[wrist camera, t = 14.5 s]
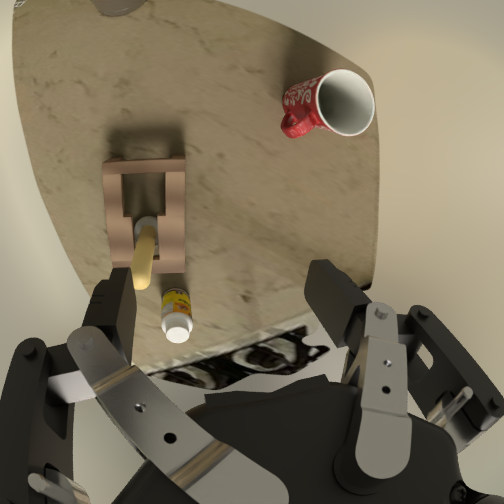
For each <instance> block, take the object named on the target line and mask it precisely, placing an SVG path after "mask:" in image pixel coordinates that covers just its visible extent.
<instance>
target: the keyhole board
mask: <svg viewBox="0 0 504 504" xmlns="http://www.w3.org/2000/svg"><path fill="white" fill-rule="evenodd" d="M185 163H186V158H185V155H172V158H158V159H134V160H123V157H117V158H110V159H108V160H107V161H105V162H103V163H102V169H103V189H104V202H105V213H106V222H107V231H108V239H109V246H110V252H111V259H112V265H113V268H116V267H130V266H131V262H132V259H133V255H134V251H135V248H136V246H135V236H134V224H133V214H125V208H124V191H123V174H130V173H152V172H166V213H158V216H157V217H158V238H159V254H160V255H155V256H153V261H152V268H151V274H159V273H185V237H184V202H185Z"/></svg>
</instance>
